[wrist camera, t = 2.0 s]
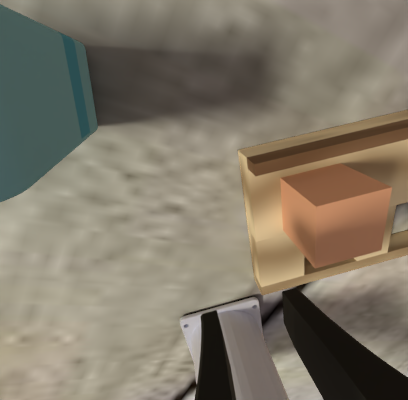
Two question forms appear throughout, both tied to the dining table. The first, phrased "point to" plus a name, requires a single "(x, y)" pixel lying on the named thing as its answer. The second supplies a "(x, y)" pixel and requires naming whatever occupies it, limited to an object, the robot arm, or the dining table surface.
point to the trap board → (309, 160)
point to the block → (334, 213)
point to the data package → (39, 100)
